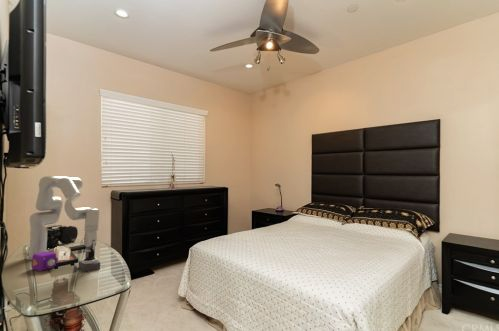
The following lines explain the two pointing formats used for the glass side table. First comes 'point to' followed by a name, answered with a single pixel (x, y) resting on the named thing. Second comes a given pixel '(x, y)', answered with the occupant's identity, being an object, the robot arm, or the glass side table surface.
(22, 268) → the glass side table surface
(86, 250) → the lens
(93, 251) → the robot arm
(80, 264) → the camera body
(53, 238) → the movie camera
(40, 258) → the toy camera
